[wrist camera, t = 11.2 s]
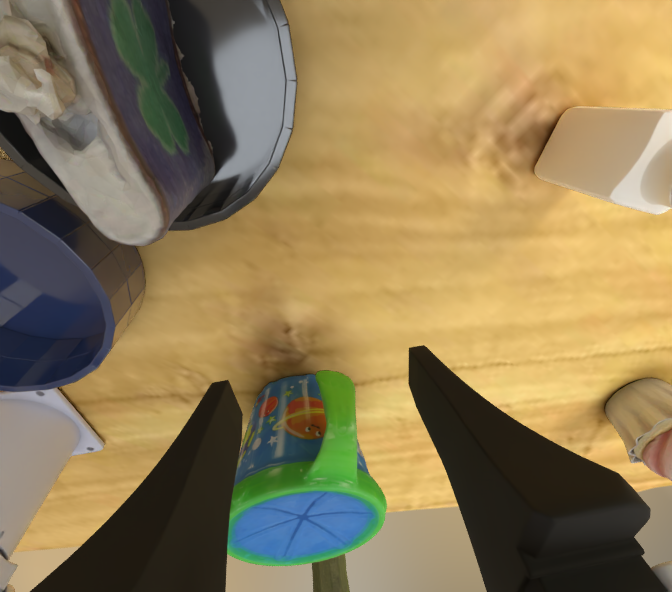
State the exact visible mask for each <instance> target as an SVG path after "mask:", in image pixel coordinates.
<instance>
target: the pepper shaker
mask: <svg viewBox="0 0 672 592" xmlns="http://www.w3.org/2000/svg"><path fill="white" fill-rule="evenodd" d="M534 173H535V174H536V175H537V177H538V178H539V179H541V180H544V181H547V182H550V183H553V184H556V185H559V186H562V187H565V188H568V189H571V190H574V191H577V192H580V193H583V194H586V195H589V196H592V197H595V198H599V199H602V200H605V201H608V202H611V203H614V204H617V205H621V206H625V207H628V208H632V209H636V210H639V211H643V212H647V213H651V214H655V215H659V214H661V213H664V212H666V211H667V210H669V209H671V208H672V109H645V108H617V107H588V106H577V107H572V108H569V109H567V110H566V111H565V112H564V113H563V114H562V116H561V117H560V119H559V121H558V123H557V125H556V127H555V129H554V131H553V133H552V135H551V137H550V139H549V140H548V142H547V144H546V146H545V148H544V150H543V152H542V154H541V156H540V158H539V160H538V162H537V164H536V166H535V170H534Z"/></svg>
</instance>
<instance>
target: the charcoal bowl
mask: <svg viewBox="0 0 672 592" xmlns="http://www.w3.org/2000/svg"><path fill="white" fill-rule="evenodd" d="M168 2H169V8H170V12H171V16H172V20H173V21H175V24H173V36H174V39H175V43H176V44H177V46H178V48H179V49H180V52H181V53H182V54H183V55H184V57H183V58H182V59H181V60H180V61H181V67H182V71H183V72H184V74H185V75H186V77H187V78H188V82H191V85H192V86H193V87H194V92H195V94H196V96H197V97H198V106H199V109H200V114H199V115H200V118H201V122H200V123H201V124H202V128H203V132H204V135H205V137H206V139H207V141H210V143H211V146H212V147H213V149H212V152H213V157H214V164H215V171H216V172H215V175H214V178H213V179H212V181H211V182H210V183H209V185H208V186H206V187H205V188H204V189H203V190H202V191H201V192H200V193H199V194H198V195H197V196H196V197H195V198H194V199H193V201H192V202H191V203H190V204H188V205H187V207H186V208H185V209H184V210H183V211H182V212H181V213H180V215H179V216H178V217H177V218H176V219H175V220H174V221H173V223H172V224H171V226H170V228H169V230H168V231H184V230H193V229H197V228H200V227H203V226H206V225H210V224H213V223H216V222H220V221H223V220H225V219H227V218H229V217H230V216H232V215H233V214H234V213H236V212H237V211H239V210H240V209H242V208H243V207H245V206H246V205H248V204H249V203H250V202H252V201H253V200H254V199H256V197H257V196H258V195H259V194H260V192H261V191H262V190H263V188H264V187H265V186H266V184H267V183H268V182H269V181H270V179H271V178H272V177H273V175H274V174H275V173H276V172H277V170H278V168H279V166H280V163H281V160H282V158H283V155H284V152H285V150H286V147H287V144H288V142H289V139H290V136H291V134H292V131H293V130H292V129H293V125H294V114H295V103H296V92H297V74H296V67H295V60H294V54H293V47H292V40H291V34H290V27H289V24H288V20H287V17H286V15H285V12H284V9H283V7H282V4H281V2H280V0H168ZM0 147H1V148H2V149H3V151H4V152H5V153H6V154H7V155H8V156H9V157H10V158H11V159H12V160H13V161H14V162H15V163H16V164H17V165H18V167H20V168H21V169H22V170H23V171H25V172H26V173H27V174H29V175H30V176H31V177H33V178H34V179H36V180H37V181H38V182H40V183H41V184H42V185H44V186H45V187H46V188H48V189H49V190H51V191H52V192H53V193H55V194H56V195H57V196H59V197H60V198H62V199H63V200H65V201H66V202H68V203H70V204H73V205H75V206H77V207H78V205H77V204H76V203H75V201H74V200H73V198H72V197H71V195H70V194H69V192H68V191H67V189H66V188H65V186H64V185H63V183H62V182H61V181H60V179H59V178H58V176H57V175H56V174H55V172H54V171H53V170H52V168H51V167H50V166H49V164H48V163H47V162H46V161H45V159H44V158H43V157H42V155H41V154H40V153H39V151H38V149H37V147H36V145H35V143H34V141H33V140H32V138H31V137H30V136H29V135H28V133H27V132H26V131H25V129H24V127H23V125H22V123H21V121H20V119H19V118H18V117H17V115H16V114H15V113H14V112H5V111H3V110H0Z"/></svg>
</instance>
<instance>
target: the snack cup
mask: <svg viewBox="0 0 672 592" xmlns="http://www.w3.org/2000/svg"><path fill="white" fill-rule="evenodd" d="M386 509H387V503H386V499H385V496H384V494H383V492H382V490H381V488H380V487H379V486H378V484H377V483H376V482H375V480H374V479H373V478H372V477H371V476H370V474H369V472H368V469H367V466H366V462H365V459H364V456H363V454H362V451H361V449H360V446H359V442H358V440H357V426H356V415H355V387H354V384H353V382H352V380H351V379H350V378H349V377H348V376H345V375H344V374H342V373H339V372H334V371H329V370H323V371H319V372H317V373H316V375H313V374H308V375H305V376H291V377H287V378H282V379H280V380H278V381H276V382H270V383H269V384H268V385H266V386H265V387H264V389H263V391H262V392H261V394H259V395H258V397H257V399H256V401H255V404H254V407H253V409H252V413H251V416H250V420H249V423H248V427H247V430H246V434H245V437H244V440H243V444H242V447H241V451H240V454H239V458H238V465H237V470H236V476H235V482H234V488H233V494H232V500H231V508H230V518H229V532H228V546H227V554H229V555H230V556H232V557H234V558H236V559H239V560H241V561H245V562H248V563H253V564H258V565H266V566H291V565H301V564H307V563H314V562H319V561H323V560H327V559H330V558H334V557H337V556H340V555H342V554H345V553H347V552H350V551H352V550H354V549H356V548H358V547H360V546H361V545H363V544H365V543H366V542H368V541H369V540H370V539H372V538H373V537H374V536H375V535H376V534H377V533H378V531H379V530H380V529H381V527H382V526H383V523H384V520H385V512H386Z"/></svg>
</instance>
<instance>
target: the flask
mask: <svg viewBox="0 0 672 592" xmlns="http://www.w3.org/2000/svg"><path fill="white" fill-rule="evenodd" d="M173 24H175V21H173V20H172V16H171V12H170V8H169V2H168V0H0V110H3V111H5V112H14V113H15V114H16V115H17V117H18V118H19V119H20V121H21V123H22V125H23V127H24V129H25V131H26V132H27V133H28V135H29V136H30V137H31V138H32V140H33V141H34V143H35V145H36V147H37V149H38V151H39V153H40V154H41V155H42V157H43V158H44V159H45V161H46V162H47V163H48V164H49V166H50V167H51V168H52V170H53V171H54V172H55V174H56V175H57V176H58V178H59V179H60V181H61V182H62V183H63V185H64V186H65V188H66V189H67V191H68V192H69V194H70V195H71V197H72V198H73V200H74V201H75V203H76V204H77V205H78V207H79V208H80V209H81V210H82V211H83V212H84V213H85V214H86V215H87V216H88V217H89V219H90V220H91V222H92V223H93V225H94V226H95V227H96V228H97V229H98V230H99V231H100V232H101V233H102V234H103V235H105V236H106V237H107V238H109V239H110V240H113V241H116V242H118V243H120V244H125V245H131V246H146V245H149V244H152V243H154V242H156V241H158V240H160V239H161V238H163V237H164V236H165V235H166V233H167V232H168V230H169V228H170V226H171V224H172V223H173V221H174V220H175V219H176V218H177V217H178V216H179V215H180V213H181V212H182V211H183V210H184V209H185V208H186V207H187V205H188V204H190V203H191V202H192V201H193V199H194V198H195V197H196V196H197V195H198V194H199V193H200V192H201V191H202V190H203V189H204V188H205V187H206V186H208V185H209V183H210V182H211V181H212V179H213V178H214V175H215V172H216V171H215V164H214V157H213V152H212V149H213V147H212V146H211V143H210V141H207V139H206V137H205V135H204V132H203V128H202V124H201V123H200V122H201V118H200V115H199V114H200V109H199V106H198V97H197V96H196V94H195V92H194V87H193V86H192V85H191V82H188V78H187V77H186V75H185V74H184V72H183V71H182V67H181V61H180V60H181V59H182V58H183V57H184V55H183V54H182V53H181V52H180V49H179V48H178V46H177V44H176V43H175V39H174V36H173Z"/></svg>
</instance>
